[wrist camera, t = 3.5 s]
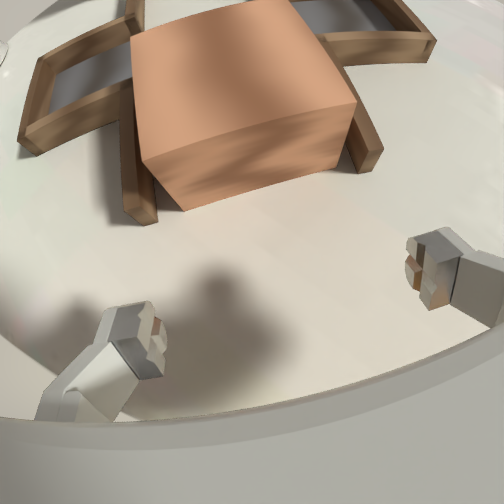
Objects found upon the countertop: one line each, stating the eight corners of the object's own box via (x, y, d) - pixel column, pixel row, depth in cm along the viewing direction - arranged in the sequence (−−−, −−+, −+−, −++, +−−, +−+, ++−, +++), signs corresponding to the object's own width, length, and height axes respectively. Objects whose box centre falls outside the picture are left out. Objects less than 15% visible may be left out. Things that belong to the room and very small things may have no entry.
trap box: (32, 261, 20) (7, 253, 17) (68, 18, 27) (59, 3, 24) (479, 153, 19) (498, 134, 16) (328, -46, 26) (329, -62, 23)
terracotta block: (184, 212, 20) (142, 161, 13) (162, 99, 22) (130, 37, 15) (335, 168, 20) (357, 102, 13) (285, 64, 22) (284, -5, 15)
